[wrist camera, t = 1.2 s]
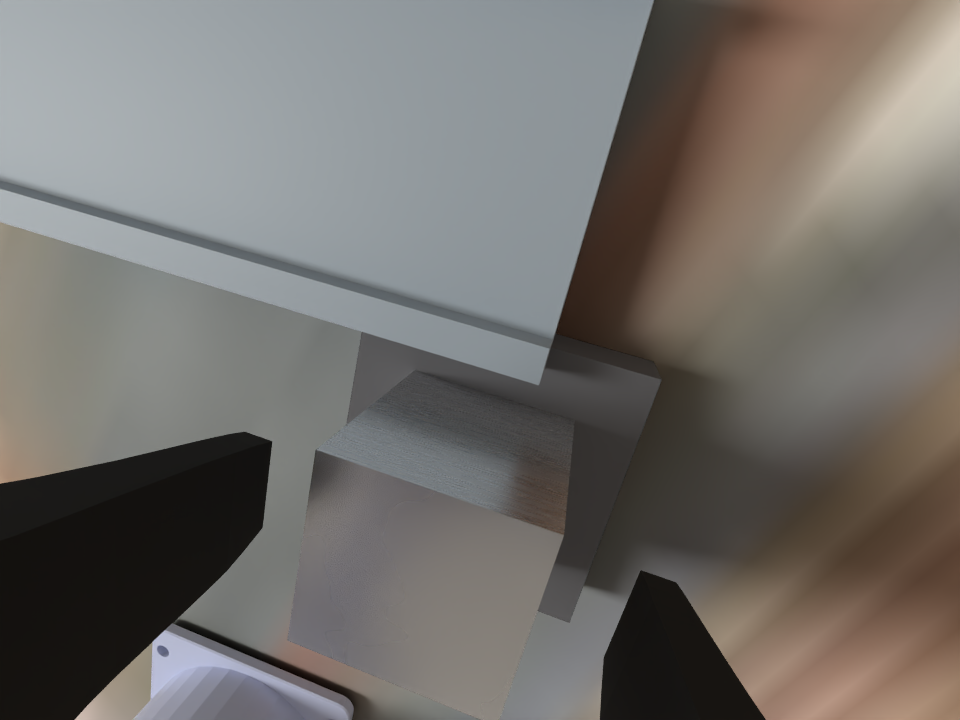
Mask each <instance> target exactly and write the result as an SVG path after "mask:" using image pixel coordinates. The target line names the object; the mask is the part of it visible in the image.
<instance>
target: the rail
mask: <svg viewBox="0 0 960 720" xmlns="http://www.w3.org/2000/svg"><path fill="white" fill-rule="evenodd" d="M654 1H655V0H0V222H2V223H5V224H8V225H12V226H15V227H18V228H22V229H25V230H28V231H31V232H35V233H38V234H41V235H45V236H48V237H51V238H55V239H58V240H61V241H64V242H68V243H71V244H74V245H78V246H81V247H84V248H88V249H91V250H94V251H97V252H101V253H104V254H107V255H111V256H114V257H117V258H121V259H124V260H127V261H130V262H134V263H137V264H140V265H144V266H147V267H150V268H154V269H157V270H160V271H163V272H167V273H170V274H173V275H177V276H180V277H183V278H187V279H190V280H193V281H196V282H200V283H203V284H206V285H210V286H213V287H216V288H220V289H223V290H226V291H229V292H233V293H236V294H239V295H243V296H246V297H249V298H253V299H256V300H259V301H262V302H266V303H269V304H272V305H276V306H279V307H282V308H286V309H289V310H292V311H295V312H299V313H302V314H305V315H309V316H312V317H315V318H318V319H322V320H325V321H328V322H332V323H335V324H338V325H342V326H345V327H348V328H351V329H355V330H358V331H361V332H365V333H368V334H371V335H375V336H378V337H381V338H384V339H388V340H391V341H394V342H398V343H401V344H404V345H408V346H411V347H414V348H417V349H421V350H424V351H427V352H431V353H434V354H437V355H441V356H444V357H447V358H450V359H454V360H457V361H460V362H464V363H467V364H470V365H474V366H477V367H480V368H483V369H487V370H490V371H493V372H497V373H500V374H503V375H507V376H510V377H513V378H516V379H520V380H523V381H526V382H530V383H533V384H536V385H539V384H540V381H541V378H542V375H543V372H544V369H545V366H546V362H547V359H548V355H549V352H550V349H551V346H552V343H553V340H554V337H555V334H556V331H557V327H558V324H559V321H560V317H561V314H562V311H563V307H564V304H565V301H566V297H567V294H568V290H569V287H570V284H571V280H572V277H573V274H574V270H575V267H576V264H577V260H578V257H579V253H580V250H581V247H582V243H583V240H584V237H585V233H586V230H587V227H588V223H589V220H590V217H591V213H592V210H593V206H594V203H595V200H596V196H597V193H598V190H599V186H600V183H601V180H602V176H603V173H604V169H605V166H606V163H607V159H608V156H609V153H610V149H611V146H612V143H613V139H614V136H615V133H616V129H617V126H618V122H619V119H620V116H621V112H622V109H623V106H624V102H625V99H626V96H627V92H628V89H629V85H630V82H631V79H632V75H633V72H634V69H635V65H636V62H637V59H638V55H639V52H640V48H641V45H642V42H643V38H644V35H645V32H646V28H647V25H648V22H649V18H650V15H651V12H652V8H653V5H654Z"/></svg>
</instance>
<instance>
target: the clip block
mask: <svg viewBox="0 0 960 720" xmlns="http://www.w3.org/2000/svg"><path fill="white" fill-rule="evenodd" d="M574 422H575V420H574V419H570V418H567V417H564V416H561V415H557V414H554V413H551V412H548V411H545V410H541V409H538V408H535V407H532V406H528V405H525V404H522V403H519V402H516V401H512V400H509V399H506V398H503V397H499V396H496V395H493V394H490V393H487V392H483V391H480V390H477V389H474V388H470V387H467V386H464V385H461V384H458V383H454V382H451V381H448V380H445V379H441V378H438V377H435V376H432V375H429V374H425V373H422V372H419V371H416V370H414V371H413V372H412V373H410V374H409V375H408V376H407V377H406V378H404V379H403V380H402V381H401V382H399V383H398V384H397V385H396V386H394V387H393V388H392V389H391V390H389V391H388V392H387V393H386V394H384V395H383V396H382V397H381V398H379V399H378V400H377V401H376V402H374V403H373V404H372V405H371V406H370V407H368V408H367V409H366V410H365V411H363V412H362V413H361V414H360V415H358V416H357V417H356V418H355V419H353V420H352V421H351V422H350V423H348V424H347V425H346V426H345V427H343V428H342V429H341V430H340V431H338V432H337V433H336V434H335V435H333V436H332V437H331V438H330V439H329V440H327V441H326V442H325V443H324V444H322V445H321V446H320V447H319V448H317V449H316V452H315V459H314V465H313V472H312V479H311V485H310V492H309V499H308V506H307V512H306V519H305V526H304V533H303V539H302V546H301V553H300V559H299V566H298V573H297V580H296V586H295V593H294V600H293V606H292V613H291V620H290V627H289V633H288V641H290V642H293V643H295V644H298V645H300V646H302V647H305V648H307V649H310V650H312V651H315V652H317V653H319V654H322V655H324V656H327V657H329V658H332V659H334V660H336V661H339V662H341V663H344V664H346V665H349V666H351V667H354V668H356V669H358V670H361V671H363V672H366V673H368V674H371V675H373V676H375V677H378V678H380V679H383V680H385V681H388V682H390V683H392V684H395V685H397V686H400V687H402V688H405V689H407V690H410V691H412V692H414V693H417V694H419V695H422V696H424V697H427V698H429V699H431V700H434V701H436V702H439V703H441V704H444V705H446V706H448V707H451V708H453V709H456V710H458V711H461V712H463V713H465V714H468V715H470V716H473V717H475V718H478V719H480V720H499V719H500V717H501V714H502V711H503V708H504V705H505V702H506V699H507V697H508V694H509V691H510V688H511V685H512V682H513V679H514V677H515V674H516V671H517V668H518V665H519V662H520V659H521V657H522V654H523V651H524V648H525V645H526V642H527V639H528V637H529V634H530V631H531V628H532V625H533V622H534V619H535V617H536V614H537V611H538V608H539V605H540V602H541V600H542V597H543V594H544V591H545V588H546V585H547V582H548V580H549V577H550V574H551V571H552V568H553V565H554V562H555V560H556V557H557V554H558V551H559V548H560V545H561V542H562V540H563V537H564V529H565V519H566V508H567V497H568V486H569V476H570V465H571V454H572V443H573V433H574Z"/></svg>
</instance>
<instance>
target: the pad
mask: <svg viewBox="0 0 960 720" xmlns="http://www.w3.org/2000/svg"><path fill="white" fill-rule="evenodd" d="M414 370H416V371H419V372H422V373H425V374H429V375H432V376H435V377H438V378H441V379H445V380H448V381H451V382H454V383H458V384H461V385H464V386H467V387H470V388H474V389H477V390H480V391H483V392H487V393H490V394H493V395H496V396H499V397H503V398H506V399H509V400H512V401H516V402H519V403H522V404H525V405H528V406H532V407H535V408H538V409H541V410H545V411H548V412H551V413H554V414H557V415H561V416H564V417H567V418H570V419H574V420H575V422H574V433H573V443H572V454H571V465H570V476H569V486H568V497H567V508H566V519H565V529H564V537H563V540H562V542H561V545H560V548H559V551H558V554H557V557H556V560H555V562H554V565H553V568H552V571H551V574H550V577H549V580H548V582H547V585H546V588H545V591H544V594H543V597H542V600H541V602H540V605H539V608H538V611H539V612H542V613H544V614H547V615H550V616H552V617H555V618H558V619H560V620H563V621H566V622H570V620H571V617H572V614H573V612H574V609H575V607H576V604H577V601H578V599H579V596H580V593H581V591H582V588H583V586H584V583H585V580H586V578H587V575H588V572H589V570H590V567H591V564H592V562H593V559H594V557H595V554H596V551H597V549H598V546H599V543H600V541H601V538H602V536H603V533H604V530H605V528H606V525H607V522H608V520H609V517H610V515H611V512H612V509H613V507H614V504H615V501H616V499H617V496H618V493H619V491H620V488H621V486H622V483H623V480H624V478H625V475H626V472H627V470H628V467H629V465H630V462H631V459H632V457H633V454H634V451H635V449H636V446H637V444H638V441H639V438H640V436H641V433H642V430H643V428H644V425H645V422H646V420H647V417H648V415H649V412H650V409H651V407H652V404H653V401H654V399H655V396H656V394H657V391H658V388H659V386H660V383H661V380H662V379H661V377H660V375H659V373H658V370H657V368H656V366H655V364H654V362H652V361H649V360H645V359H642V358H638V357H635V356H631V355H628V354H624V353H621V352H617V351H614V350H610V349H607V348H603V347H600V346H596V345H593V344H590V343H586V342H583V341H579V340H576V339H572V338H569V337H565V336H562V335H558V334H555V337H554V340H553V343H552V346H551V349H550V352H549V355H548V359H547V362H546V366H545V369H544V372H543V375H542V378H541V381H540V384H539V385H536V384H533V383H530V382H526V381H523V380H520V379H516V378H513V377H510V376H507V375H503V374H500V373H497V372H493V371H490V370H487V369H483V368H480V367H477V366H474V365H470V364H467V363H464V362H460V361H457V360H454V359H450V358H447V357H444V356H441V355H437V354H434V353H431V352H427V351H424V350H421V349H417V348H414V347H411V346H408V345H404V344H401V343H398V342H394V341H391V340H388V339H384V338H381V337H378V336H375V335H371V334H368V333H365V332H362V334H361V340H360V346H359V352H358V358H357V364H356V370H355V376H354V382H353V388H352V394H351V400H350V406H349V412H348V418H347V424H348V423H350V422H351V421H352V420H353V419H355V418H356V417H357V416H358V415H360V414H361V413H362V412H363V411H365V410H366V409H367V408H368V407H370V406H371V405H372V404H373V403H374V402H376V401H377V400H378V399H379V398H381V397H382V396H383V395H384V394H386V393H387V392H388V391H389V390H391V389H392V388H393V387H394V386H396V385H397V384H398V383H399V382H401V381H402V380H403V379H404V378H406V377H407V376H408V375H409V374H410V373H412V372H413V371H414ZM347 424H346V425H347Z"/></svg>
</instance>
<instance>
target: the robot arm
mask: <svg viewBox="0 0 960 720" xmlns="http://www.w3.org/2000/svg"><path fill="white" fill-rule="evenodd" d="M271 448H272V441H270V440H267V439H264V438H261V437H258V436H255V435H252V434H250V433H247V432H241V433H234V434H228V435H223V436H219V437H214V438H210V439H205V440H201V441H196V442H192V443H188V444H184V445H180V446H176V447H171V448H167V449H163V450H159V451H155V452H150V453H146V454H142V455H138V456H134V457H129V458H125V459H121V460H117V461H112V462H107V463H103V464H98V465H93V466H88V467H84V468H79V469H74V470H69V471H65V472H60V473H55V474H50V475H45V476H41V477H36V478H30V479H25V480H19V481H14V482H8V483H2V484H0V720H75V718H76V717H77V716H78V715H79V714H80V713H81V712H82V711H83V710H84V708H85V707H86V706H87V705H88V704H89V703H90V702H91V701H92V700H93V699H94V698H95V697H96V696H97V695H98V694H99V693H100V692H101V691H102V690H103V689H104V688H105V687H106V686H107V685H108V684H109V683H110V682H111V681H112V680H113V679H114V678H115V677H116V676H117V675H118V674H119V673H120V672H121V671H122V670H123V669H124V668H125V667H126V666H128V665H129V664H130V663H131V662H132V661H133V660H134V659H135V658H136V657H137V656H138V655H139V654H140V653H141V652H142V651H143V650H144V649H146V648H147V647H148V646H149V645H150V644H151V643H152V642H153V649H152V678H151V700H150V701H149V703H148V704H147V705H146V706H145V707H144V708H143V709H142V710H141V711H140V712H139V713H138V714H137V715H136V716H135V718H134V719H133V720H352V717H353V712H354V707H353V705H352V703H351V701H350V700H349V699H348V698H347V697H345V696H343V695H341V694H339V693H336V692H334V691H332V690H329V689H327V688H325V687H322V686H320V685H317V684H315V683H313V682H310V681H308V680H306V679H303V678H301V677H298V676H296V675H294V674H291V673H289V672H287V671H284V670H282V669H279V668H277V667H275V666H272V665H270V664H268V663H265V662H263V661H260V660H258V659H256V658H253V657H251V656H249V655H246V654H244V653H241V652H239V651H237V650H234V649H232V648H230V647H227V646H225V645H222V644H220V643H218V642H215V641H213V640H211V639H208V638H206V637H203V636H201V635H199V634H196V633H194V632H192V631H189V630H187V629H184V628H182V627H180V626H177V625H175V624H172V623H173V622H174V621H175V620H176V619H177V618H178V617H179V616H181V615H182V614H183V613H184V612H185V611H186V610H187V609H188V608H189V607H190V606H191V605H192V604H193V603H194V602H195V601H196V600H197V599H198V598H199V597H200V596H202V595H203V594H204V593H205V592H206V591H207V590H208V589H209V588H210V587H211V586H212V585H213V584H214V583H215V582H216V581H217V580H218V579H219V578H220V577H221V576H222V575H223V574H224V573H225V572H226V571H227V570H228V569H229V568H230V567H231V565H232V564H233V563H234V562H235V561H236V560H237V558H238V557H239V556H240V555H241V554H242V553H243V551H244V550H245V549H246V548H247V546H248V545H249V544H250V543H251V541H252V540H253V539H254V538H255V536H256V535H257V534H258V533H259V531H260V530H261V529H262V528H263V519H264V510H265V501H266V492H267V483H268V474H269V465H270V456H271ZM600 720H766V719H765V718H764V716H763V715H762V714H761V712H760V711H759V709H758V708H757V706H756V705H755V703H754V702H753V700H752V699H751V697H750V696H749V694H748V693H747V691H746V690H745V688H744V687H743V685H742V684H741V682H740V681H739V679H738V678H737V676H736V675H735V673H734V672H733V670H732V668H731V667H730V665H729V664H728V662H727V661H726V659H725V658H724V656H723V655H722V653H721V651H720V650H719V648H718V647H717V645H716V644H715V642H714V640H713V639H712V637H711V636H710V634H709V633H708V631H707V629H706V628H705V626H704V625H703V623H702V621H701V620H700V618H699V617H698V615H697V614H696V612H695V610H694V609H693V607H692V606H691V604H690V602H689V601H688V599H687V598H686V596H685V595H684V593H683V592H682V590H681V589H680V587H679V586H678V584H677V583H676V582H673V581H670V580H667V579H664V578H662V577H659V576H656V575H653V574H650V573H647V572H644V571H642V570H641V571H640V573H639V576H638V578H637V580H636V583H635V585H634V588H633V590H632V592H631V595H630V597H629V599H628V602H627V604H626V606H625V609H624V611H623V614H622V616H621V618H620V621H619V623H618V625H617V628H616V630H615V632H614V635H613V637H612V639H611V642H610V644H609V647H608V649H607V651H606V654H605V656H604V664H603V678H602V691H601V710H600Z"/></svg>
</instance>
